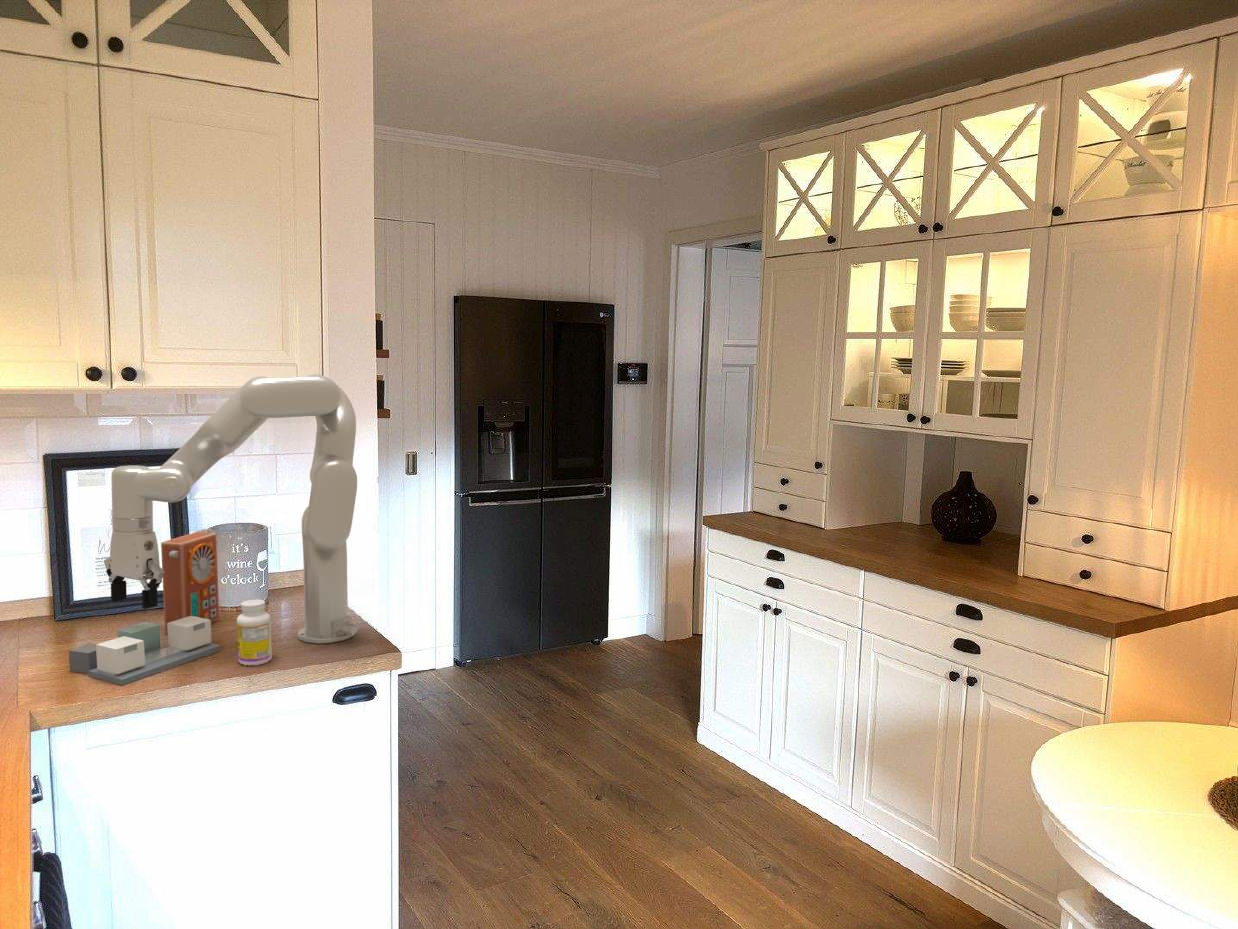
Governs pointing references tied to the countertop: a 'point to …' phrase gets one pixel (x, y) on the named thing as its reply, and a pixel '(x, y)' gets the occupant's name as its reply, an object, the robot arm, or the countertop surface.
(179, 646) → the mounted modules
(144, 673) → the board
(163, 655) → the rail
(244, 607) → the supplement bottle
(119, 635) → the module
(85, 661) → the block
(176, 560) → the control panel
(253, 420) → the robot arm
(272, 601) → the countertop surface
